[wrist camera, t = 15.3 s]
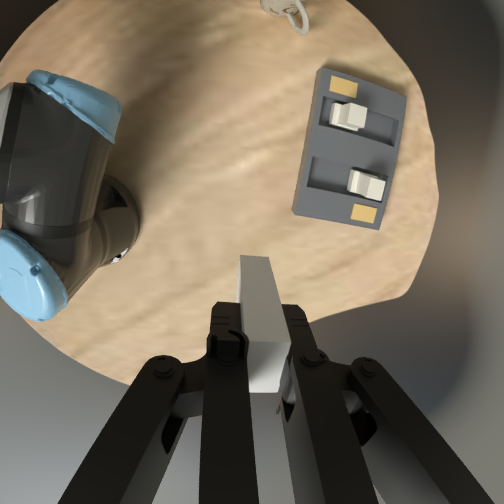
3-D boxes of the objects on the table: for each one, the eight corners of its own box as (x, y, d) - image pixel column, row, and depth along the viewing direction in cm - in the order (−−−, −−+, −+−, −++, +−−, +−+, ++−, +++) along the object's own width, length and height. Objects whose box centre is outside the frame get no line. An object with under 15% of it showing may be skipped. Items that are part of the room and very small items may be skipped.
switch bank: (291, 209, 42) (295, 215, 39) (316, 71, 34) (322, 66, 31) (371, 224, 43) (379, 230, 40) (397, 98, 35) (407, 97, 32)
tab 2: (346, 189, 39) (360, 197, 34) (351, 169, 38) (366, 174, 33) (369, 195, 40) (385, 203, 35) (373, 175, 39) (390, 181, 34)
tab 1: (328, 124, 36) (341, 122, 30) (331, 103, 34) (345, 99, 29) (353, 131, 36) (369, 131, 31) (356, 111, 35) (372, 108, 30)
